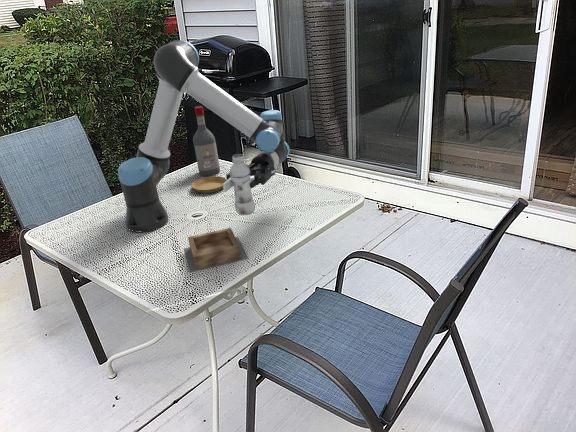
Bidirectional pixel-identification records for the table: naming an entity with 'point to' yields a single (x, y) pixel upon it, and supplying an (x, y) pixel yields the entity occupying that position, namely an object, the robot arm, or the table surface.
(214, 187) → the plant saucer
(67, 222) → the table surface
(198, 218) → the table surface
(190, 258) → the mat
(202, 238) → the wooden tray
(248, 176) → the plastic bottle
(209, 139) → the liquor
